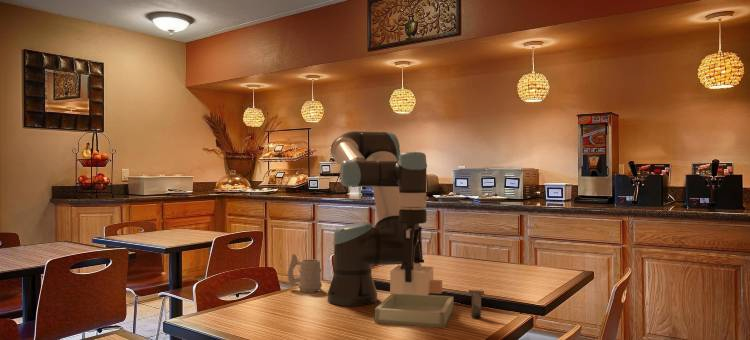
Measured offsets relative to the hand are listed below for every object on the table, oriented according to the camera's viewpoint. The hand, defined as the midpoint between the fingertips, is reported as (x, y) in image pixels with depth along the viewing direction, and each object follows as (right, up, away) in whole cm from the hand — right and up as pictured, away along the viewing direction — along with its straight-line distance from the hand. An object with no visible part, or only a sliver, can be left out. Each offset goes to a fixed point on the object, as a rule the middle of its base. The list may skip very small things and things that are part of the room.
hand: (412, 290), depth 143 cm
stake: (+17, -7, -2) cm, 18 cm away
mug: (-34, -8, +32) cm, 47 cm away
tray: (+1, -7, 0) cm, 7 cm away
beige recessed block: (+1, 0, 0) cm, 1 cm away
